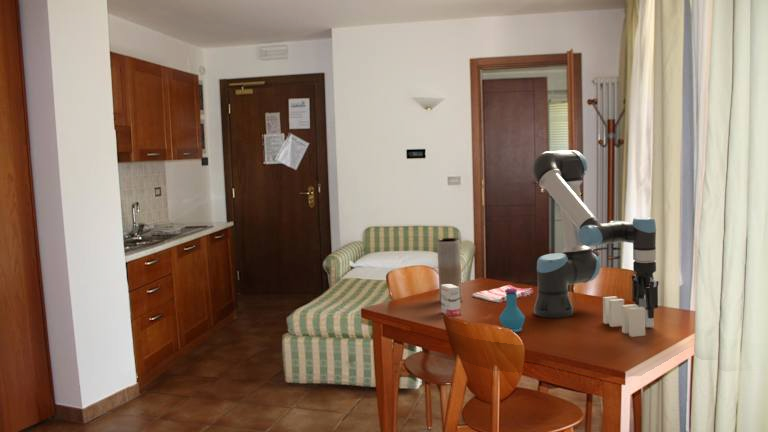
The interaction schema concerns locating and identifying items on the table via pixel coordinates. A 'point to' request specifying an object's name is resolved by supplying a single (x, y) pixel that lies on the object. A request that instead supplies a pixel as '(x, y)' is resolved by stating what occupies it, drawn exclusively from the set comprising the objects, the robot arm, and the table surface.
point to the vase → (449, 263)
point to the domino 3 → (642, 302)
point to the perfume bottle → (512, 312)
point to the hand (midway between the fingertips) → (645, 324)
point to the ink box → (450, 299)
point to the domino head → (607, 308)
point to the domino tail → (637, 321)
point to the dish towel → (501, 294)
